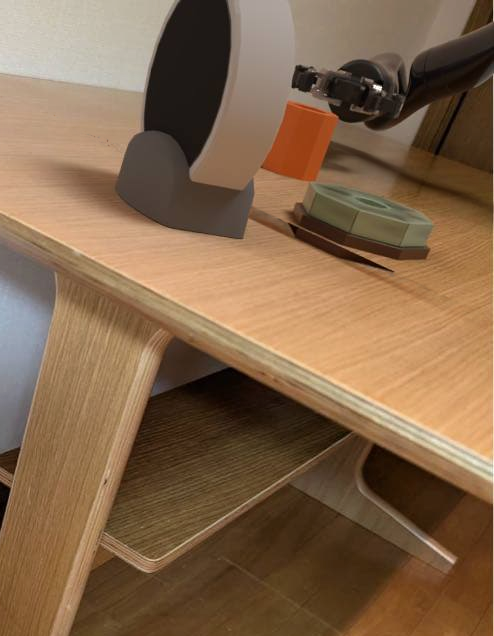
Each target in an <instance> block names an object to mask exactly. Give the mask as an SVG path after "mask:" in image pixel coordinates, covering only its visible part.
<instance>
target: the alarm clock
mask: <svg viewBox="0 0 494 636" xmlns="http://www.w3.org/2000/svg"><path fill="white" fill-rule="evenodd" d="M295 63H296V31H295V24H294V20H293V13H292V10H291V5H290V3H289V1H288V0H174V1H173V3H172V4H171V7H170V9H169V10H168V12H167V14H166V16H165V17H164V20H163V23H162V26H161V28H160V30H159V33H158V36H157V37H156V40H155V44H154V47H153V50H152V54H151V58H150V61H149V63H148V67H147V71H146V77H145V83H144V88H143V95H142V101H141V103H142V104H141V112H140V132H138V133H135V134H134V135H133V136H132V137H131V139H130V141H129V142H128V144H127V147H126V148H125V149H126V150H125V152H124V155H123V158H122V162H121V165H120V169H119V171H118V172H119V173H118V175H117V179H116V182H115V190H116V192H117V194H118V195H119V197H120V198H121V199H122V200H123V201H124V202H125V203H127V204H128V205H130V206H131V207H132V208H133V209H135V210H136V211H138V212H139V213H141V214H143V215H144V216H146V217H147V218H149V219H151V220H153V221H154V222H157V223H159V224H161V225H162V226H164V227H168V228H171V229H176V230H177V229H178V230H184V231H190V232H196V233H202V234H208V235H214V236H221V237H227V238H234V239H239V240H240V239H244V236H245V233H246V230H247V225H248V221H249V217H250V213H251V209H252V206H253V201H254V198H255V179H254V177H255V176H256V175H257V174H258V172H259V170H260V169H261V167H262V164H263V162H264V160H265V158H266V157H267V155H268V153H269V151H270V150H271V148H272V145H273V143H274V140H275V138H276V135H277V133H278V130H279V128H280V125H281V123H282V120H283V117H284V113H285V109H286V105H287V102H288V101H289V98H290V94H291V90H292V88H291V84H292V77H293V74H294V71H295Z"/></svg>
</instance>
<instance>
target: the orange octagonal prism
mask: <svg viewBox="0 0 494 636" xmlns="http://www.w3.org/2000/svg"><path fill="white" fill-rule="evenodd" d="M338 118H339V117H338V116H337V115H335V114H333V113H332V112H331V111H327V110H324V109H321V108H318V107H315V106H312V105H308V104H305V103H302V102H298V101H293V100H288V102H287V105H286V109H285V113H284V117H283V120H282V123H281V125H280V128H279V130H278V133H277V135H276V138H275V140H274V143H273V145H272V148H271V150H270V151H269V153H268V155H267V157H266V158H265V160H264V162H263V164H262V165H261V167H262V168H264V169H266V170H268V171H270V172H273V173H276V174H277V175H279V176H280V175H281V176H284V177H288V178H291V179H295V180H299V181H304V182H317V181H316V180H317V177H318V175H319V172H320V169H321V167H322V164H323V161H324V159H325V156H326V153H327V151H328V148H329V146H330V142H331V141H332V140H331V139H332V137H333V134H334V132H335V129H336V126H337V123H338V121H339V119H338Z"/></svg>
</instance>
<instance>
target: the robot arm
mask: <svg viewBox="0 0 494 636" xmlns="http://www.w3.org/2000/svg"><path fill="white" fill-rule="evenodd" d="M407 73H408V72H407V66H406V61H405V59H404V57H403V55H402V54H400V53H399V52H396V51H383V52H380V53H376V54H375V55H372V56H371V57H368V59H365V58H356V59H352V60H350V61H347V62H346V63H344V64H343V65H341V66H340V67H339V68H338V69H337V70H334V69H333V70H332V69H330V68H326V67H325V68H324V67H322V68H321V69H320V70H319V71H318V70H317V69H316V68H315V67H314V66H313V65H310V66H306V65H302V64H296V65H294V70H293V77H292V84H291V89H293V90H294V89H297V90H298V91H299V92H302V93H306V94H307V93H309V94H311V95H312V98H315V99H316V100H319V101H325V102H327V104H328V107H329V110H330V113H333V114H335V115H337V116H338V117H339V118H338V121H339V120H340V121H341V122H343V123H347V124H356V123H363V125H364V127H366V128H367V129H368V130H370V131H373V132H384V131H388V130H390V129H392V128H394V127H395V126H397V125H400V124H401V123H403V121H405V120H407V119H408V118H409V117H411V116H412V115H413V114H415V113H417V112H418V111H419V110H421V109H423V108H424V107H427V106H428V105H430V104H433V103H435V102H437V101H441V100H444V99H447V98H449V97H450V98H451V97H452V96H455V95H459V94H462V93H466V92H468V91H470V90H473V89H476V88H477V87H479V86H481V85H483V83H485V82H486V81H488V80H489V79H490V78H491V77H493V76H494V20H493V21H492V22H489V23H487V24H486V25H484V26H482V27H479V28H478V29H475V30H473V31H470V32H468V33H466V34H463V35H461V36H458V37H456V38H452V39H449V40H448V41H445V42H442V43H440V44H437V45H434V46H432V47H429V48H426V49H424V50H422V51H420V52H419V53H418V54H417V55H415V57H414V58H413V60H412V62H411V65H410V69H409V74H407ZM313 85H314V87H313Z"/></svg>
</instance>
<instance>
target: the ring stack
mask: <svg viewBox="0 0 494 636" xmlns="http://www.w3.org/2000/svg"><path fill="white" fill-rule="evenodd" d="M291 213H292V215H293V217H294V219H295V221H296V223H297V225H298V226H297V225H295V224H294V223H292V222H291V223H290V222H288V226H289V228H290V230H291V232H292V234H293V237H295V238H296V239H298V240H301V241H303V242H305V243H307V244H309V245H311V246H313V247H315V248H317V249H319V250H321V251H323V252H326V253H328V254H330V255H332V256H334V257H336V258H339V259H343V260H347V261H350V262H354V263H357V262H358V263H357V264H361V265H365V266H368V265H369V267H372V268H377V269H380V270H383V271H387V272H391V273H394V272H395V270H392V269H391V268H388V267H386V266H384V265H382V264H380V263H377V262H375V261H373V260H371V259H369V258H367V257H364V256H362V255H360V254H357V253H356V252H353V251H351V250H349V249H347V248H351V249H354V250H358V251H361V252H366V253H369V254H372V255H377V256H380V257H384V258H388V259H390V260H395V261H422V260H423V261H424V260H427V257H428V256H429V253H430V251H431V248H430V247H429V246H428V245H427V242H428V240H429V237H430V235H431V233H432V232H433V229H434V227H435V223H434V222H433V221H432V220H430V218H429V217H428V216H426V215H425V214H424V213H423V212H421V211H419V210H417V209H414V208H412V207H409V206H407V205H405V204H402V203H399V202H397V201H394V200H392V199H390V198H387V197H385V196H382V195H380V194H375V193H371V192H367V191H364V190H362V189H361V190H360V189H358V188H354V187H350V186H346V185H342V184H338V183H330V182H319V181H318V182H317V181H315V182H314V181H309V182H308V185H307V187H306V191H305V194H304V195H303V199H302V201H301V202H299V201H298V202H295V204H294V206H293V209H292V212H291ZM303 228H304V229H303ZM325 238H326V239H325ZM327 239H328V240H327ZM336 243H337V244H336ZM344 247H345V248H344ZM346 247H347V248H346Z"/></svg>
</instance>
